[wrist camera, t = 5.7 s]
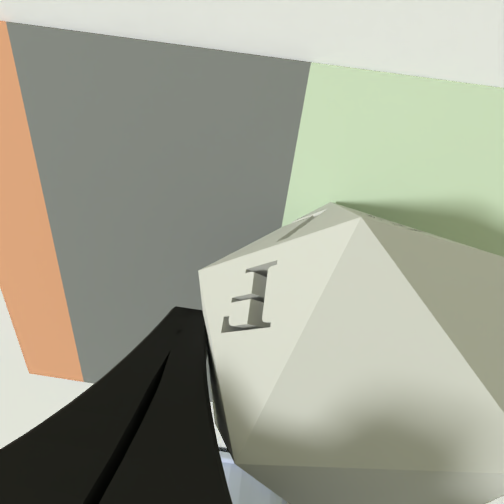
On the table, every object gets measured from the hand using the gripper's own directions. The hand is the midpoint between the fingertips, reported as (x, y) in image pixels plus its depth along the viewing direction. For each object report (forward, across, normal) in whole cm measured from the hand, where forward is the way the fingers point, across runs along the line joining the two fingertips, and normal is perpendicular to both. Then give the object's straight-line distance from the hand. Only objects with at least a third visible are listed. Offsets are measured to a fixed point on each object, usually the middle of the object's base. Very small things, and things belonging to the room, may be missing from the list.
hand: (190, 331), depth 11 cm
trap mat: (+3, -3, 0) cm, 5 cm away
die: (+3, -5, -1) cm, 6 cm away
